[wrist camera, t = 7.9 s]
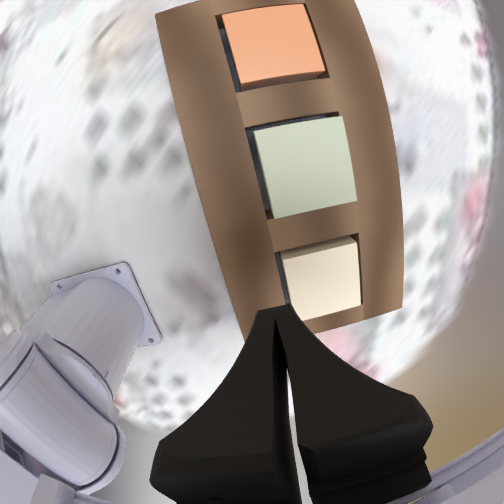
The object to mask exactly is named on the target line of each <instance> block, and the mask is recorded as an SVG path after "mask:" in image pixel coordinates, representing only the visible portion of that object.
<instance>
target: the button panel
mask: <svg viewBox="0 0 504 504" xmlns="http://www.w3.org/2000/svg"><path fill="white" fill-rule="evenodd" d="M293 4H303V5H304V8H305V10H306V13H307V16H308V19H309V21H310V24H311V27H312V30H313V33H314V36H315V39H316V42H317V45H318V48H319V52H320V55H321V58H322V61H323V65H324V68H325V71H324V72H323V73H322V74H320V75H319V76H318V77H317V78H318V79H316V80H307V81H299V82H292V83H286V84H279V85H274V86H268V87H263V88H258V89H253V90H248V91H243V92H239V93H236V92H235V88H234V84H233V81H232V77H231V73H230V69H229V66H228V62H227V58H226V54H225V51H224V47H223V43H222V40H221V36H220V33H219V29H222V28H224V26H223V19H222V15H223V14H228V13H233V12H238V11H244V10H250V9H256V8H264V7H272V6H281V5H293ZM155 18H156V23H157V28H158V33H159V37H160V42H161V47H162V51H163V56H164V60H165V64H166V69H167V73H168V77H169V82H170V86H171V90H172V94H173V98H174V102H175V106H176V110H177V114H178V118H179V122H180V126H181V130H182V134H183V138H184V141H185V145H186V149H187V153H188V156H189V160H190V164H191V167H192V171H193V175H194V178H195V182H196V186H197V189H198V193H199V196H200V200H201V203H202V207H203V210H204V214H205V217H206V220H207V224H208V227H209V231H210V234H211V237H212V241H213V244H214V247H215V250H216V254H217V257H218V260H219V263H220V267H221V270H222V273H223V276H224V279H225V283H226V286H227V289H228V292H229V295H230V298H231V301H232V304H233V308H234V311H235V314H236V317H237V320H238V323H239V326H240V329H241V332H242V335H243V338H244V341H246V339H247V337H248V335H249V332H250V330H251V327H252V324H253V321H254V318H255V315H256V313H257V311H258V310H263V309H267V308H272V307H277V306H281V305H286V304H285V299H284V295H283V290H282V285H281V281H280V276H279V272H278V267H277V262H276V258H275V253H274V252H278V251H283V250H287V249H291V248H296V247H300V246H304V245H308V244H313V243H317V242H321V241H325V240H329V239H334V238H338V237H342V236H346V235H349V236H350V237H352V238H353V239H354V240H355V241H356V242H357V250H358V263H359V278H360V297H361V305H360V306H356V307H353V308H349V309H346V310H342V311H338V312H335V313H331V314H327V315H323V316H319V317H316V318H312V319H308V320H304V321H303V323H304V324H305V325H306V326H307V327H308V328H309V330H310V331H311V332H312V333H313V334H316V333H320V332H324V331H327V330H331V329H335V328H338V327H342V326H346V325H349V324H352V323H356V322H359V321H363V320H366V319H369V318H372V317H375V316H379V315H382V314H385V313H388V312H391V311H394V310H397V309H400V308H402V300H403V276H404V239H403V215H402V200H401V189H400V179H399V170H398V162H397V155H396V148H395V142H394V136H393V130H392V125H391V120H390V115H389V110H388V105H387V101H386V96H385V92H384V88H383V84H382V80H381V77H380V73H379V69H378V66H377V62H376V59H375V56H374V53H373V49H372V46H371V43H370V40H369V37H368V34H367V32H366V29H365V26H364V23H363V21H362V18H361V16H360V13H359V11H358V8H357V6H356V3H355V1H354V0H199V1H195V2H192V3H188V4H185V5H181V6H178V7H175V8H172V9H169V10H166V11H163V12H160V13H157V14H155ZM321 115H327V118H331V117H339V116H342V117H343V122H344V126H345V131H346V136H347V141H348V146H349V152H350V157H351V163H352V169H353V175H354V182H355V188H356V196H357V201H354V202H349V203H344V204H340V205H335V206H330V207H326V208H321V209H316V210H312V211H307V212H303V213H298V214H294V215H290V216H285V217H281V218H276V219H274V216H273V214H272V212H271V209H269V210H264V205H263V201H262V197H261V192H260V188H259V184H258V180H257V176H256V172H255V167H254V163H253V159H252V155H251V151H250V147H249V143H248V139H247V135H246V131H245V130H246V129H250V128H255V127H260V126H264V125H269V124H274V123H279V122H285V121H290V120H296V119H302V118H308V117H314V116H321Z"/></svg>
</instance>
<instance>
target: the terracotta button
mask: <svg viewBox="0 0 504 504" xmlns="http://www.w3.org/2000/svg"><path fill="white" fill-rule="evenodd" d="M222 19H223V26H224V31H225V34H226V38H227V41H228V45H229V49H230V52H231V56H232V60H233V63H234V67H235V71H236V74H237V78H238V82H239V86H240V89H241V91H246V90H251V89H256V88H261V87H266V86H271V85H277V84H283V83H290V82H297V81H304V80H312V79H316V78H317V77H318V76H319V75H320V74H322V73H323V72H324V71H325V68H324V65H323V61H322V58H321V55H320V52H319V48H318V45H317V42H316V39H315V36H314V33H313V30H312V27H311V24H310V21H309V19H308V16H307V13H306V10H305V8H304V5H303V4H293V5H281V6H272V7H264V8H256V9H250V10H244V11H238V12H233V13H228V14H223V15H222Z"/></svg>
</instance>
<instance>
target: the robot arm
mask: <svg viewBox="0 0 504 504" xmlns="http://www.w3.org/2000/svg"><path fill="white" fill-rule="evenodd" d="M117 269H120V271H121V272H118V271H117ZM59 284H60V285H61V286H60V285H59ZM49 288H50V291H51V293H52V296H51V297H50V298H49V299H48V300H47V301H46V302H45V303H44V304H43V305H42V306H41V307H40V308H39V309H38V310H37V311H36V312H35V313H34V314H33V315H32V316H31V317H30V318H29V320H28V321H27V322H26V323H25V324H24V325H23V326H22V328H21V329H20V331H18V330H14V331H12V332H11V333H10V334H8V335H7V336H6V337H4V338H3V339H2V340H1V341H0V504H116V503H112V502H108V501H104V500H101V499H97V498H94V497H91V496H88V495H90V494H91V493H93V492H95V491H97V490H99V489H101V488H103V487H104V486H106V485H107V484H109V483H110V482H111V481H112V480H113V479H114V478H115V477H116V475H117V474H118V473H119V471H120V469H121V467H122V465H123V461H124V457H125V451H126V440H125V436H124V433H123V431H122V430H121V428H120V427H119V426H118V425H116V424H115V423H116V420H117V417H118V415H119V412H120V411H119V410H118V409H117V408H116V406H115V405H114V403H113V401H114V399H115V396H116V394H117V391H118V389H119V386H120V384H121V381H122V379H123V376H124V374H125V372H126V369H127V367H128V365H129V362H130V360H131V357H132V355H133V353H134V351H135V348H136V347H138V346H146V345H154V344H159V343H161V341H162V337H161V335H160V333H159V331H158V329H157V327H156V325H155V323H154V321H153V318H152V316H151V314H150V312H149V310H148V308H147V306H146V304H145V301H144V299H143V297H142V295H141V293H140V290H139V288H138V286H137V284H136V281H135V279H134V277H133V274H132V272H131V269H130V267H129V265H128V264H126V263H119V264H116V265H112V266H108V267H104V268H101V269H97V270H93V271H90V272H86V273H83V274H79V275H75V276H72V277H68V278H65V279H61V280H58V281H54V282H52V283H50V285H49ZM150 338H151V339H153V340H151V339H150ZM287 370H288V374H289V377H290V382H291V389H292V397H293V405H294V413H295V423H296V432H297V443H298V447H299V450H300V454H301V457H302V461H303V465H304V468H305V472H306V475H307V482H308V489H309V495H310V497H311V500H312V503H313V504H408V503H410V502H412V501H415V500H417V499H419V498H421V499H420V500H418V501H416V502H414V503H412V504H504V427H503V428H502V429H501V430H499V431H498V432H497V433H495V434H494V435H492V436H491V437H489V438H488V439H486V440H485V441H484V442H482V443H480V444H479V445H477V446H476V447H474V448H473V449H471V450H469V451H468V452H466V453H464V454H463V455H461V456H459V457H457V458H456V459H454V460H452V461H450V462H449V463H447V464H445V465H443V466H441V467H439V468H437V469H435V470H433V471H431V472H429V471H428V469H427V466H426V464H425V460H426V458H427V457H426V454H425V452H424V449H423V446H424V445H425V443H426V441H427V440H428V438H429V436H430V434H431V432H432V429H433V424H432V421H431V419H430V417H429V415H428V414H427V412H426V410H425V409H424V408H423V407H422V405H421V404H420V403H419V401H418V400H417V399H416V397H415V396H413V395H410V394H407V393H405V392H402V391H399V390H396V389H393V388H391V387H389V386H387V385H384V384H382V383H380V382H378V381H376V380H374V379H372V378H371V377H369V376H367V375H365V374H364V373H362V372H360V371H358V370H357V369H355V368H353V367H352V366H351V365H349V364H348V363H346V362H345V361H343V360H342V359H341V358H339V357H338V356H337V355H336V354H334V353H333V352H332V351H331V350H330V349H328V348H327V347H326V346H325V345H324V344H323V343H322V342H321V341H320V340H319V339H318V338H317V337H316V336H315V335H314V334H313V333H312V332H311V331H310V330H309V328H308V327H307V326H306V325H305V324H304V323H303V321H302V320H301V319H300V317H299V316H298V314H297V313H296V311H295V310H294V308H293V306H292V305H291V304H286V305H281V306H277V307H272V308H267V309H263V310H258V311H257V313H256V315H255V318H254V321H253V324H252V327H251V330H250V332H249V335H248V337H247V339H246V341H245V344H244V346H243V348H242V350H241V352H240V354H239V356H238V357H237V359H236V361H235V363H234V365H233V366H232V368H231V370H230V371H229V373H228V374H227V376H226V377H225V378H224V380H223V381H222V383H221V384H220V385H219V387H218V388H217V389H216V390H215V392H214V393H213V394H212V395H211V397H210V398H209V399H208V400H207V401H206V402H205V403H204V404H203V405H202V406H201V407H200V408H199V409H198V410H197V411H196V412H195V413H194V414H193V415H192V416H191V417H190V418H189V419H188V420H187V421H186V422H184V423H183V424H182V425H181V426H179V427H178V428H177V429H176V430H174V431H173V432H172V433H170V434H169V435H168V436H166V437H165V438H164V439H162V440H161V441H160V442H159V445H158V447H157V450H156V452H155V457H154V460H153V465H152V470H151V474H150V479H149V480H150V483H151V485H152V486H153V487H154V488H155V489H156V490H157V491H159V492H161V493H162V494H164V495H165V496H167V497H168V498H170V499H172V500H174V501H175V502H177V504H302V500H301V494H300V488H299V481H298V475H297V468H296V462H295V456H294V448H293V442H292V436H291V428H290V421H289V405H288V384H287ZM430 493H431V494H430ZM428 494H429V495H428ZM426 495H427V496H426ZM424 496H425V497H424ZM422 497H423V498H422Z"/></svg>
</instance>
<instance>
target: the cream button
mask: <svg viewBox="0 0 504 504" xmlns="http://www.w3.org/2000/svg"><path fill="white" fill-rule="evenodd" d="M279 253H280V258H281V262H282V267H283V272H284V277H285V282H286V286H287V291H288V296H289V301H290V304H291V305H292V306H293V308H294V310H295V311H296V313H297V314H298V316H299V317H300V319H301V320H302V321H304V320H308V319H312V318H316V317H319V316H323V315H327V314H331V313H335V312H338V311H342V310H346V309H349V308H353V307H356V306H360V305H361V297H360V278H359V263H358V250H357V242H356V241H355V240H354V239H353V238H352V237H350V236H349V235H346V236H342V237H338V238H334V239H329V240H325V241H321V242H317V243H313V244H308V245H304V246H300V247H296V248H291V249H287V250H283V251H279Z"/></svg>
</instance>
